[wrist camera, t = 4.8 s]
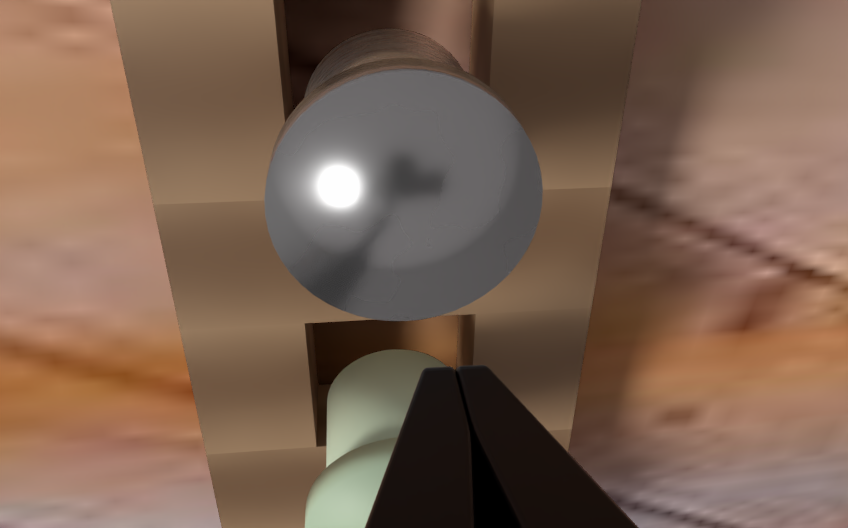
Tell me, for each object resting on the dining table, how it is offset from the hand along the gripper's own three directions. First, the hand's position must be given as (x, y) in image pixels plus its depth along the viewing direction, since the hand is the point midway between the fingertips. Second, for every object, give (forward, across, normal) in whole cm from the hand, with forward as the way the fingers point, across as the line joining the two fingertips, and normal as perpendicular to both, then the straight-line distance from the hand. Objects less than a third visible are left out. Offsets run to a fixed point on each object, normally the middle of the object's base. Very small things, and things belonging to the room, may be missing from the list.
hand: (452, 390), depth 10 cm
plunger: (+9, 0, 0) cm, 9 cm away
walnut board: (+13, 0, +9) cm, 16 cm away
